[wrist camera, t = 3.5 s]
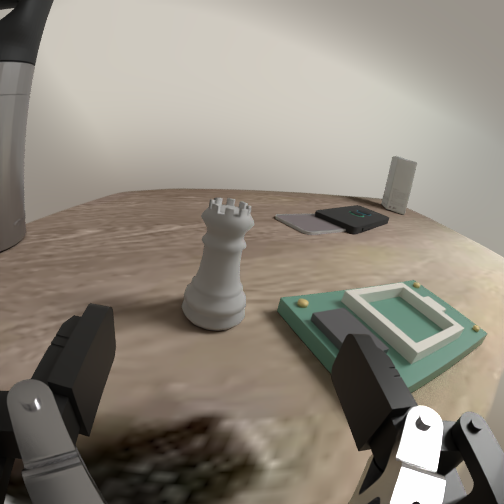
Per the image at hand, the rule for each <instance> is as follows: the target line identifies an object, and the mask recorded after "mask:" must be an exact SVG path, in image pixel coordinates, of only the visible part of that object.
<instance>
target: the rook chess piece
mask: <svg viewBox="0 0 504 504" xmlns="http://www.w3.org/2000/svg"><path fill="white" fill-rule="evenodd" d="M234 203H235V199H230V198H227V204H226V205H222V198H214V200H212V199H210V203H209V207H208V208H207V209H206V210H205V211H204V212H203V213H202V215H201V217H202V219H203V221H204V222H205V224H206V226H207V233H206V234H205V235H204V236H203V237H202V241H203V243H204V250H203V256H202V260H201V263H200V267H199V270H198V272H197V274H196V276H194V277H193V279H192V282H191V283H190V284H189V285H187V287H186V290H185V293H184V298H185V299H184V300H183V304H182V309H183V312H184V314H185V315H186V317H187V318H188V319H189V320H190V321H191V322H192V323H193V324H195V325H196V326H198V327H201V328H203V329H206V330H213V331H221V330H228V329H230V328H232V327H234V326H236V325H237V324H239V323H240V322H241V321H242V319H243V318H244V317H245V309H244V308H245V307H246V296H245V293H244V292H243V285H242V284H241V283H240V259H241V254H242V250H243V249H244V248H246V243H245V241H244V236H245V233H246V232H247V231H248V230H249V229H251V228H252V227H253V226H254V221H253V219H252V217H251V215H250V212H251V206H247V205H248V203H245V202H243V201H241V202H240V203H239V207H235V206H234Z"/></svg>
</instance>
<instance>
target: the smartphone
mask: <svg viewBox="0 0 504 504" xmlns="http://www.w3.org/2000/svg"><path fill="white" fill-rule="evenodd" d="M275 218H276V219H277V220H279V221H281V222H283V223H285V224H286V225H288V226H290V227H292V228H294V229H296V230H298V231H300V232H302V233H304V234H307V235H318V234H328V233H336V232H345V231H346V229H344V228H342V227H339V226H337V225H334V224H332V223H330V222H327V221H325V220H322V219H320V218H317V217H315V214H277V215H276V217H275Z"/></svg>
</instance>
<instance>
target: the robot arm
mask: <svg viewBox="0 0 504 504" xmlns="http://www.w3.org/2000/svg"><path fill="white" fill-rule="evenodd" d="M52 3H53V0H0V10H2V9H10V8H14V10H12V11H11V12H10V13H9V14H8V15H6V16H5V17H4V18H2V19H1V20H0V251H3V250H5V249H8V248H10V247H12V246H14V245H15V244H17V243H18V242H19V241H21V240H22V239H23V237H24V236H25V234H26V224H25V208H24V154H25V153H24V152H25V137H26V136H25V135H26V124H27V113H28V106H29V98H30V96H29V95H30V91H31V85H32V79H33V73H34V68H35V67H34V66H35V63H36V58H37V53H38V49H39V45H40V41H41V38H42V34H43V30H44V27H45V23H46V20H47V17H48V14H49V11H50V9H51V6H52ZM115 350H116V340H115V330H114V317H113V309H112V307H108V306H103V305H97V304H92V303H90V304H89V305H88V307H87V308H86V310H85V312H84V313H83V315H82V317H79V316H75V315H74V316H73V317H71V318H70V319H68V320H67V321H66V322H64V323H63V324H62V326H61V327H60V329H59V331H58V332H57V334H56V336H55V337H54V339H53V341H52V342H51V345H50V346H49V347H48V349H47V351H46V353H45V354H44V356H43V358H42V360H41V361H40V363H39V365H38V367H37V369H36V370H35V372H34V374H33V376H32V378H31V379H28V380H23V381H20V382H18V383H17V384H15V385H14V386H13V387H12V388H11V389H10V391H0V504H4V500H5V495H6V491H7V487H8V483H9V479H10V475H11V471H12V467H13V464H14V460H15V458H18V459H22V460H23V463H24V467H25V469H23V470H22V475H23V479H24V482H25V485H26V488H27V490H28V493H29V495H30V498H31V500H32V502H33V504H108V503H107V502H106V500H105V499H104V497H103V496H102V494H101V492H100V491H99V489H98V487H97V485H96V484H95V482H94V480H93V478H92V476H91V475H90V473H89V471H88V469H87V467H86V465H85V463H84V461H83V459H82V457H81V455H80V453H79V451H78V449H77V447H76V445H75V444H76V441H77V437H78V434H82V435H85V436H90V433H91V429H92V426H93V422H94V419H95V415H96V412H97V409H98V406H99V403H100V399H101V396H102V393H103V390H104V387H105V384H106V381H107V378H108V375H109V372H110V369H111V366H112V363H113V361H114V357H115ZM331 377H332V382H333V384H334V387H335V389H336V392H337V395H338V397H339V400H340V403H341V405H342V408H343V411H344V413H345V416H346V419H347V421H348V424H349V427H350V429H351V432H352V435H353V438H354V440H355V443H356V446H357V449H358V451H363V450H369V449H371V451H372V453H373V454H372V455H371V456H370V457H369V459H368V461H367V464H366V466H365V469H364V471H363V474H362V476H361V478H360V481H359V483H358V485H357V487H356V490H355V492H354V494H353V496H352V498H351V500H350V501H349V503H348V504H504V453H503V451H502V449H501V448H500V446H499V444H498V442H497V440H496V438H495V437H494V435H493V433H492V431H491V429H490V428H489V426H488V425H487V423H486V421H485V420H484V419H483V418H482V417H481V416H480V415H479V414H477V413H474V412H465V413H464V414H463V415H462V416H461V417H460V418H459V419H458V420H457V422H453V421H443V420H441V419H440V417H439V416H438V414H437V413H436V412H434V411H433V410H432V409H430V408H428V407H425V406H418V405H417V403H416V401H415V399H414V398H413V396H412V394H411V392H410V391H409V389H408V387H407V386H406V384H405V382H404V380H403V379H402V377H400V374H399V372H398V370H397V369H395V365H394V364H393V362H392V360H391V359H390V357H389V356H388V355H387V354H386V353H385V352H383V351H382V350H381V349H380V348H377V346H376V344H375V343H374V341H373V339H372V338H371V336H370V335H368V334H348V335H347V336H346V337H345V339H344V341H343V344H342V346H341V348H340V350H339V352H338V354H337V357H336V359H335V361H334V363H333V366H332V370H331ZM463 460H464V461H465V464H466V466H467V468H468V470H469V472H470V474H471V477H472V479H473V481H474V487H473V490H472V491H471V493H470V494H469V495H467V494H466V492H465V489H464V487H463V484H462V482H461V480H460V477H459V475H458V473H457V470H456V468H455V467H457V466H458V465H459V464H460V463H461V462H462V461H463Z"/></svg>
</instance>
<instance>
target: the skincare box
mask: <svg viewBox="0 0 504 504" xmlns="http://www.w3.org/2000/svg"><path fill="white" fill-rule="evenodd" d="M416 165H417V163H416V162H413V161H410V160H407V159H404V158H401V157H396V156H395V157H392V161H391V166H390V170H389V175H388V179H387V183H386V187H385V191H384V195H383V199H382V203H381V204H382V205H383V206H384V207H385V208H386V209H388V210H391V211H394V212H397V213H399V214H403V215H404V214H405V211H406V207H407V203H408V199H409V195H410V191H411V187H412V183H413V178H414V174H415V170H416Z"/></svg>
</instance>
